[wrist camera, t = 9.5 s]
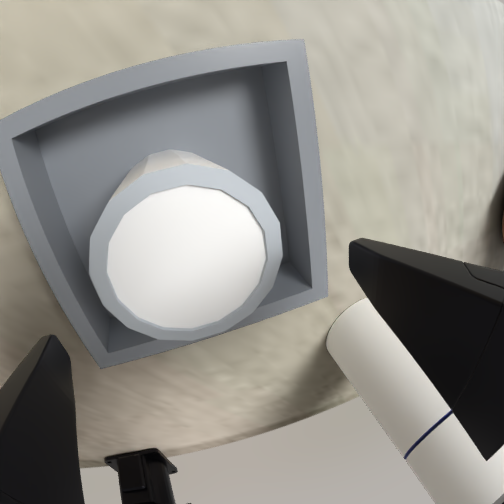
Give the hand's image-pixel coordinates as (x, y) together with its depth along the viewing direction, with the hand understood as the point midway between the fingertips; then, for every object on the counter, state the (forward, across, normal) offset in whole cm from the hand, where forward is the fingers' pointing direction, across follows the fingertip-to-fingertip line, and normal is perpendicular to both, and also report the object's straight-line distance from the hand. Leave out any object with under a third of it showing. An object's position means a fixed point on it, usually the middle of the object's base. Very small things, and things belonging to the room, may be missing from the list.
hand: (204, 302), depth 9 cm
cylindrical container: (+10, -12, +16) cm, 23 cm away
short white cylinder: (+10, 0, 0) cm, 10 cm away
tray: (+10, 0, 0) cm, 10 cm away
